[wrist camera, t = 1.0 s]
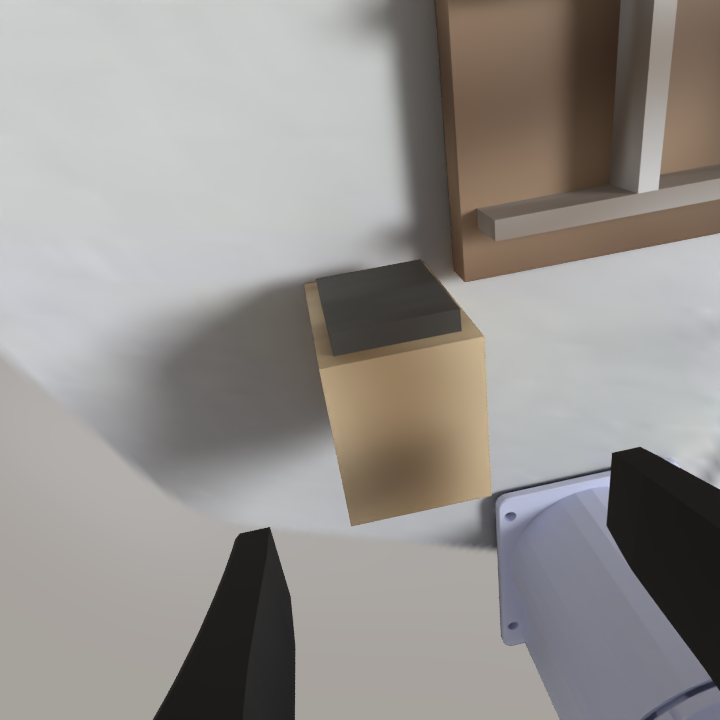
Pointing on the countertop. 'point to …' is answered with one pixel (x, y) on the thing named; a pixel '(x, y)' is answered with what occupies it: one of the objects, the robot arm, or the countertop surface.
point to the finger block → (401, 390)
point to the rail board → (577, 128)
